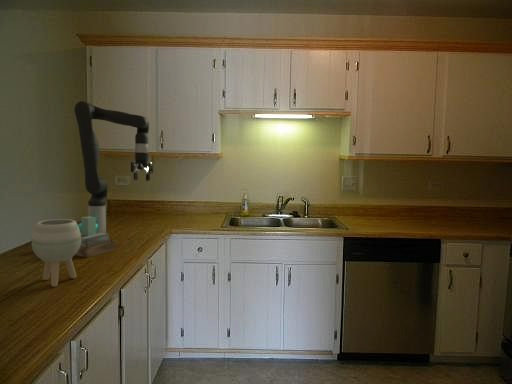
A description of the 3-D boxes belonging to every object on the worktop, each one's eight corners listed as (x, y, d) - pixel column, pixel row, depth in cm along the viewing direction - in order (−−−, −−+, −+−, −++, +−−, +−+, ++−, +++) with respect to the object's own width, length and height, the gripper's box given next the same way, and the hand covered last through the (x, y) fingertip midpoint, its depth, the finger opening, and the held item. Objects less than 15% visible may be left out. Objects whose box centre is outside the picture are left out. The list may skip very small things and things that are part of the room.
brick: (81, 235, 185) (81, 217, 185) (89, 233, 190) (88, 216, 189) (88, 236, 184) (88, 218, 183) (95, 234, 188) (95, 217, 187)
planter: (88, 275, 152) (87, 218, 150) (70, 289, 136) (69, 226, 134) (46, 274, 151) (45, 217, 149) (23, 288, 135) (21, 225, 133)
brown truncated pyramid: (61, 252, 183) (60, 236, 182) (90, 245, 198) (89, 229, 198) (87, 257, 176) (87, 240, 175) (115, 249, 191) (115, 233, 191)
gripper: (127, 151, 219) (127, 180, 221) (147, 152, 213) (147, 181, 215) (136, 151, 226) (136, 179, 227) (156, 152, 220) (156, 180, 222)
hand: (141, 180), depth 221 cm, fingers open, 8 cm apart
